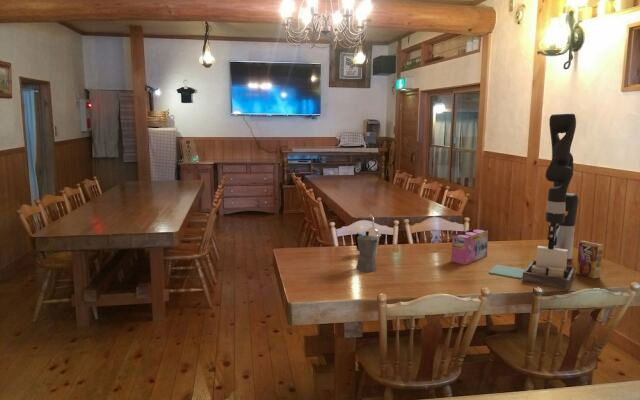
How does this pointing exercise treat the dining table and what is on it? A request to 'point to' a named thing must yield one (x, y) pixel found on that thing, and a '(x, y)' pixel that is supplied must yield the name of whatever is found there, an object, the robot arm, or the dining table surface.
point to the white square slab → (551, 257)
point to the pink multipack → (469, 246)
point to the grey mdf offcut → (539, 270)
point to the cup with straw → (374, 234)
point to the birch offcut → (556, 271)
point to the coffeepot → (366, 252)
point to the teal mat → (507, 271)
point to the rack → (549, 277)
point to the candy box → (589, 259)
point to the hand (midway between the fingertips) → (552, 247)
